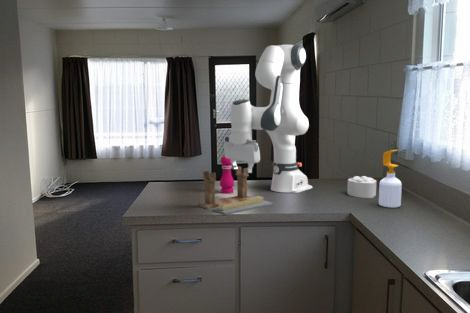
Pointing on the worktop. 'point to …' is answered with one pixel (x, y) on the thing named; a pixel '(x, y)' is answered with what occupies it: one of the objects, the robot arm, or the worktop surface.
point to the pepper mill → (226, 176)
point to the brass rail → (240, 203)
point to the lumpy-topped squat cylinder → (362, 187)
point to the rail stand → (213, 203)
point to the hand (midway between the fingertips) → (242, 171)
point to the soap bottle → (390, 185)
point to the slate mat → (243, 208)
